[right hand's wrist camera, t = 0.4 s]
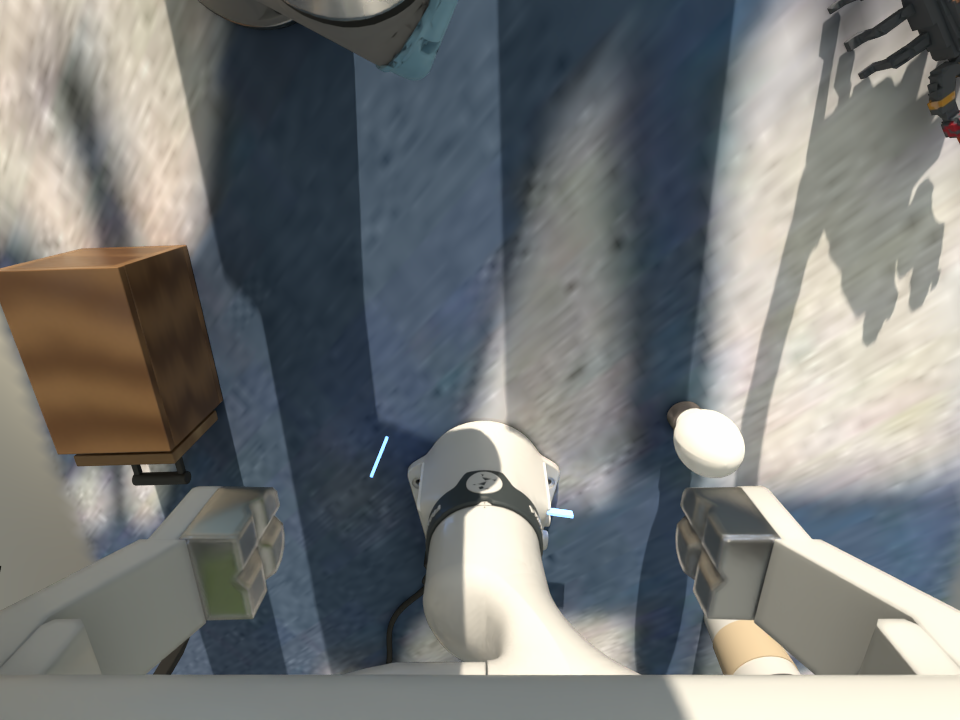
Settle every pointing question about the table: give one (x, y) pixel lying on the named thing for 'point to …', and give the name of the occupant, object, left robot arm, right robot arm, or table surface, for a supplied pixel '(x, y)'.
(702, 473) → the light bulb
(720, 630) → the coffee cup
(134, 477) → the drawer
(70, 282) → the cabinet
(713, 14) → the table surface
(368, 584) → the table surface
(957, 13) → the toy
